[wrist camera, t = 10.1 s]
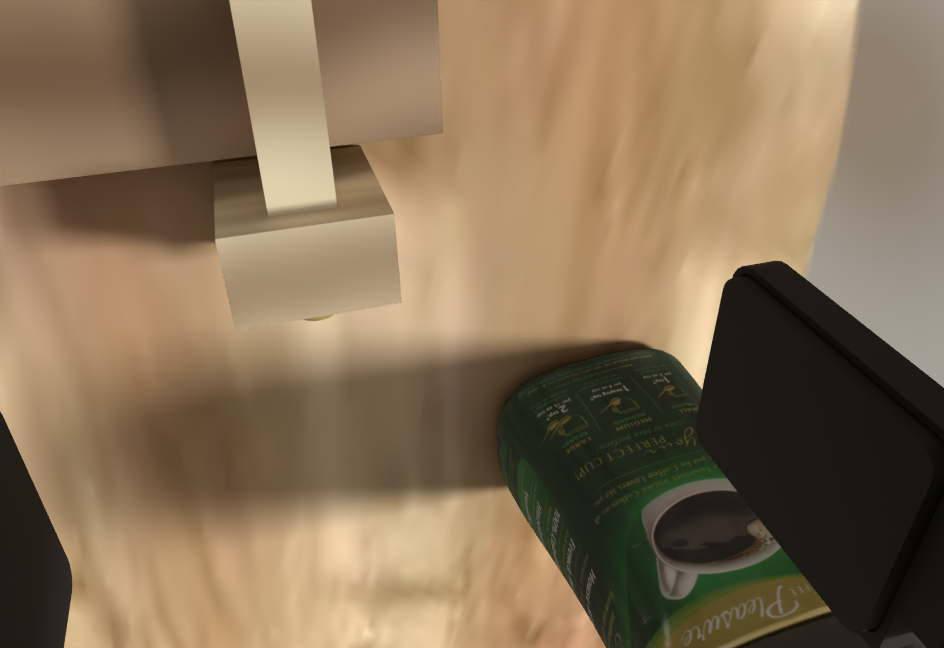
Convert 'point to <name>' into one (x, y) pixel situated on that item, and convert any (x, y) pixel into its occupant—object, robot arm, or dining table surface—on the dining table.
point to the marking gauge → (297, 189)
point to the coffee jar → (651, 513)
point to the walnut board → (193, 82)
